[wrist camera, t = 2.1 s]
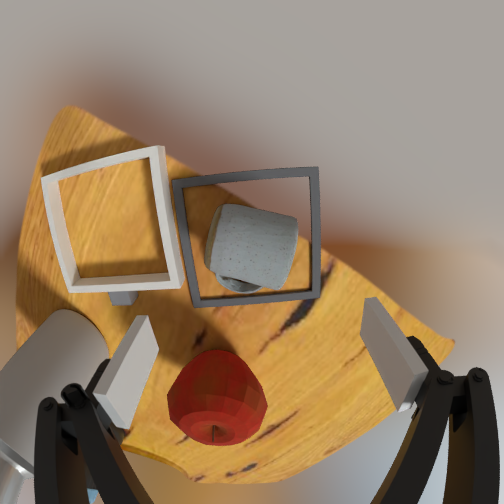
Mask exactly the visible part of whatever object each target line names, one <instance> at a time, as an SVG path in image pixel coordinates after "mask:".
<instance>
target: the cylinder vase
mask: <svg viewBox="0 0 504 504" xmlns="http://www.w3.org/2000/svg"><path fill="white" fill-rule="evenodd" d="M105 359H109V351H108V347H107V344H106V341H105V339H104V338H103V336H102V334H101V333H100V332H99V330H98V329H97V328H96V327H95V326H94V325H93V324H92V323H91V322H90V321H89V320H88V319H86V318H85V317H84V316H82V315H80V314H79V313H77V312H74V311H71V310H67V309H60V310H57V311H55V312H53V313H52V314H51V315H50V316H49V317H48V318H47V319H46V320H45V321H44V322H43V323H42V324H41V326H40V327H39V328H38V329H37V330H36V331H35V332H34V333H33V334H32V335H31V336H30V337H29V338H28V340H27V341H26V342H25V343H24V344H23V345H22V346H21V347H20V349H19V350H18V351H17V352H16V353H15V354H14V356H13V357H12V358H11V359H10V360H9V362H8V363H7V364H6V365H5V366H4V367H3V369H2V370H1V371H0V451H2V452H3V453H4V454H5V455H6V456H8V457H9V458H10V459H11V460H13V461H14V462H15V463H17V464H18V465H19V466H21V467H22V468H24V469H25V470H27V471H28V472H30V473H31V474H33V475H34V446H35V431H36V421H37V413H38V406H39V403H40V402H41V401H42V400H43V399H44V398H47V397H53V398H55V399H56V401H57V402H58V403H65V402H64V400H63V399H62V398H61V391H62V389H63V388H64V387H65V386H67V385H68V384H71V383H78V384H80V385H81V386H82V388H83V389H84V391H85V389H86V387H87V385H88V384H89V382H90V380H91V378H92V377H93V375H94V373H95V372H96V370H97V368H98V366H99V365H100V364H101V363H102V362H103V361H104V360H105Z"/></svg>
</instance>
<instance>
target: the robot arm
mask: <svg viewBox="0 0 504 504" xmlns="http://www.w3.org/2000/svg"><path fill="white" fill-rule="evenodd" d="M360 336H361V338H362V340H363V342H364V344H365V346H366V348H367V349H368V351H369V353H370V355H371V357H372V359H373V361H374V363H375V365H376V367H377V369H378V371H379V373H380V375H381V377H382V379H383V382H384V384H385V386H386V388H387V390H388V392H389V394H390V396H391V398H392V401H393V403H394V405H395V407H396V409H397V411H398V412H400V411H403V410H406V409H410V408H411V407H412V405H413V403H414V401H415V402H416V404H417V408H416V410H415V412H414V414H413V415H412V417H411V418H412V421H411V424H410V426H409V428H408V431H407V433H406V436H405V438H404V440H403V443H402V445H401V447H400V450H399V452H398V454H397V456H396V458H395V460H394V462H393V464H392V466H391V468H390V470H389V472H388V474H387V476H386V478H385V479H384V481H383V483H382V485H381V487H380V488H379V490H378V492H377V494H376V495H375V497H374V499H373V500H372V502H371V503H370V504H417V503H418V501H419V499H420V497H421V495H422V493H423V491H424V488H425V486H426V484H427V481H428V479H429V476H430V474H431V471H432V469H433V466H434V463H435V460H436V457H437V455H438V451H439V449H440V445H441V442H442V439H443V436H444V432H445V428H446V425H447V421H448V417H449V449H448V465H447V476H446V484H445V491H444V498H443V504H498V500H499V484H500V482H499V481H500V457H499V440H498V429H497V420H496V413H495V406H494V400H493V395H492V390H491V385H490V380H489V376H488V374H487V372H486V371H485V370H483V369H481V368H477V367H476V368H472V369H471V370H470V371H469V372H468V374H467V376H454V375H453V374H452V373H451V372H449V371H446V370H441V369H440V368H439V366H438V365H437V363H436V362H435V360H434V359H433V358H432V356H431V355H430V353H428V351H427V349H426V348H425V347H424V345H423V344H422V342H421V341H420V340H419V339H417V338H416V337H414V336H410V337H405V335H404V334H403V332H402V331H401V330H400V328H399V327H398V325H397V324H396V323H395V321H394V320H393V319H392V317H391V316H390V315H389V313H388V312H387V311H386V309H385V308H384V306H383V305H382V304H381V303H380V301H379V300H378V299H377V297H372V298H365V303H364V310H363V317H362V324H361V330H360ZM158 351H159V347H158V345H157V342H156V339H155V336H154V333H153V330H152V327H151V324H150V321H149V318H148V315H137V316H136V318H135V319H134V321H133V323H132V324H131V326H130V328H129V329H128V331H127V333H126V334H125V336H124V338H123V339H122V341H121V343H120V344H119V346H118V348H117V350H116V351H115V353H114V355H113V357H112V358H111V359H105V360H104V361H103V362H102V363H101V364H100V365H99V366H98V368H97V370H96V372H95V373H94V375H93V377H92V378H91V380H90V382H89V384H88V385H87V387H86V389H85V391H84V389H83V388H82V386H81V385H80V384H78V383H71V384H68V385H67V386H65V387H64V388H63V389H62V391H61V398H62V399H63V400H64V402H65V403H58V402H57V401H56V399H55V398H53V397H47V398H44V399H43V400H42V401H41V402H40V403H39V406H38V413H37V421H36V431H35V446H34V475H33V474H31V473H30V472H28V471H27V470H25V469H24V468H22V467H21V466H19V465H18V464H17V463H15V462H14V461H13V460H11V459H10V458H9V457H8V456H6V455H5V454H4V453H3V452H2V451H0V504H16V503H17V500H18V497H19V494H20V491H21V488H22V485H23V483H24V480H25V479H31V478H34V490H35V504H91V503H93V502H94V501H95V498H96V496H97V493H98V492H99V494H100V496H101V498H102V500H103V502H104V504H154V503H153V501H152V500H151V498H150V497H149V496H148V494H147V492H146V491H145V489H144V488H143V486H142V484H141V483H140V481H139V480H138V478H137V476H136V475H135V473H134V471H133V469H132V467H131V466H130V464H129V462H128V460H127V458H126V457H125V455H124V453H123V451H122V449H121V447H120V444H121V443H122V442H123V439H124V436H125V432H124V430H123V428H125V429H129V428H130V425H131V422H132V419H133V417H134V414H135V411H136V408H137V406H138V403H139V400H140V398H141V395H142V392H143V390H144V387H145V384H146V382H147V379H148V377H149V374H150V372H151V369H152V366H153V364H154V361H155V359H156V356H157V354H158Z"/></svg>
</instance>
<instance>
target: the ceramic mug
mask: <svg viewBox="0 0 504 504" xmlns="http://www.w3.org/2000/svg"><path fill="white" fill-rule="evenodd" d="M297 236H298V223H297V219H296V218H294V217H291V216H286V215H282V214H278V213H274V212H269V211H265V210H260V209H255V208H251V207H247V206H242V205H237V204H222V205H220V206H219V207H218V208H217V210H216V212H215V214H214V217H213V220H212V223H211V226H210V230H209V234H208V239H207V243H206V249H205V257H204V263H205V265H206V267H207V268H208V269H209V270H211V271H213V272H215V275H216V278H217V280H218V282H219V283H220V284H221V285H222V286H224V287H225V288H227V289H229V290H231V291H234V292H238V293H253V292H256V291H258V290H260V289H261V288H263V287H267V288H270V289H274V290H279V289H281V287H282V286H283V284H284V283H285V281H286V279H287V277H288V274H289V271H290V269H291V265H292V261H293V258H294V254H295V250H296V246H297ZM229 277H230V278H229ZM232 278H235V279H239V280H242V281H245V282H249V283H244V282H240V281H237V280H234V279H232Z"/></svg>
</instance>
